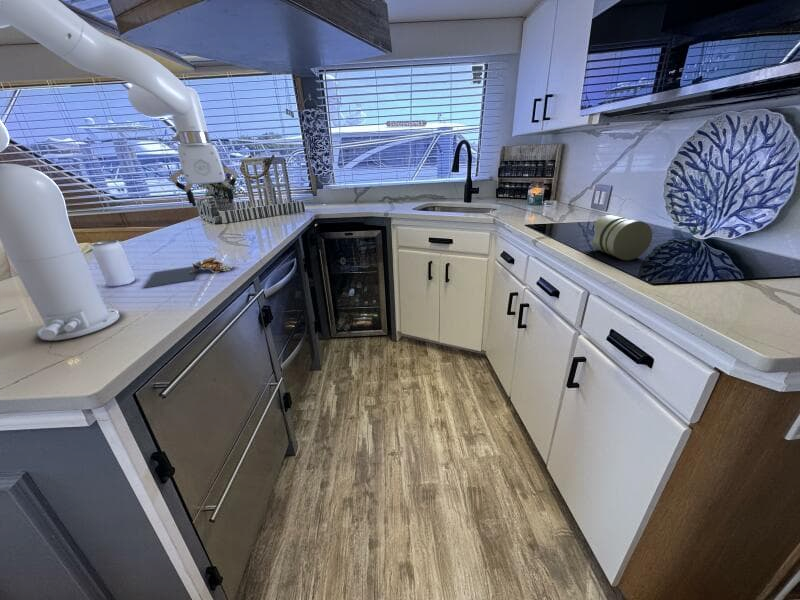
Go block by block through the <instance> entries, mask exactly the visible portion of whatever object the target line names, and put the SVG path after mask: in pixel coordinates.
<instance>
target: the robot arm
mask: <svg viewBox="0 0 800 600" xmlns="http://www.w3.org/2000/svg"><path fill="white" fill-rule="evenodd" d="M7 27H14V28H15V29H17V30H18V31H20V32H21V33H23V34H24V35H26V36H27V37H29V38H31V39H32V40H34V41H36V42H37V43H38V44H40V45H41V46H43V47H44V48H46V49H47V50H49V51H51V52H52V53H54V54H55V55H56V56H58V57H60V58H61V59H63V60H64V61H66V62H67V63H69V64H70V65H72V66H73V67H75V68H77V69H79V70H81V71H85V72H88V73H91V74H94V75H95V74H96V75H99V76H104V77H109V78H114V79H119V80H121V81H124V82H127V83H130V84H133V85H132V86H130V88H129V90H128V93H127V96H128V101H129V103H130V104H131V106H132V107H133V108H134V110H136V112H137V113H139V114H141V115H142V116H145V117H147V118H151V119H152V118H153V119H161V118H171V119H172V121H173V125H174V128H175V131H176V135H171V139H172V142H175V143H179V144H180V145H177V152H178V154H177V155H178V159H179V162H180V167H181V169H179V170H178V171H176V172H174V173H173V174H171V175H170V176H169V179H170V180H171V182H172V183H173V184H174V185H175V186H177V187H178V188H179V189H180V190H182V191H183V192H184V193H186V196H187V199H188V200H187V201H188V203H189V204H190V205H192V207H197V203H196V199H195V196H194V193H193V191H192V190H191V189H192V187H193V186H194V185H208V184H219V183H221V184H222V185H224V186H225V188H226V189H225V191H226V194H227V198H228V202H229V204H232V203H233V200H235V198H234V194H233V191H232V188H233V186H234V185H235V184H236V182H237V179H238V175H239V174H238V173H239V172H238V171H235V170H233V169H230V168H228V167H226V166H223V164H222V160H221V158H220V154H219V152H218V150H217V147H216V145H215V144H212V141H211V138H210V133H209V129H208V126H207V122H206V117H205V114H204V110H203V108H202V103H201V100H200V96H199V94H198V91H197V90H196V89H194V88H193V87H190V86H186V85H185V84H184V83H183V82H182V81H181V80H180V79H179V78H178V77H177V75H175V74H174V73H172V72H171V71H170V69H168V68H166V67H165V66H164V65H163V64H161V63H160V62H159V61H157V60H156V59H154V58H153V57H152V56H150V55H148V54H146V53H145V52H143V51H141V50H139V49H137V48H135V47H133V46H130V45H129V44H126V43H125V42H123V41H120V40H119V39H116V38H114V37H111V36H109V35H107V34H105V33H102V32H101V31H100V30H98V29H96V28H94V27H93V26H92V25H91V24H89V23H88V22H87V21H86V20H84V19H83V18H82V17H80V16H79V15H78V14H76V12H74V11H73V10H71V9H70V8H69V7H68V6H67V5H65V4H64V3H63V2H61V1H60V0H0V29H4V28H7ZM9 144H10V134H9V131H8V129H7V127H6V126H5V124H4V123H3V121H2V120H1V119H0V153H2V152H4V150H6V149H7V148H8V146H9ZM226 173H227V174H230V175H231V179H230V180H229V181H227V180H226ZM181 176H183V179H184V180H185V182H186V185H185V184H183V183H181V182H180V181H179V178H180V177H181ZM0 243H1V245H2V247H3V250H4V251H5V253H6V255H7V257H8V259H9V261H10V262H11V264H12V266H13V268H14V270H15V271H16V273H17V275H18V277H19V279H20V280H21V283H22V284H23V286H24V288H25V290H26V292H27V293H28V295H29V297H30V299H31V301H32V303H33V305H34V306H35V308H36V311H37V312H38V314H39V316H40V318H41V319H42V321H43V323H44V325H43V326H42V327H41V328H39V329H38V330H37V336H38V338H39V339H40V340H43V341H51V342H52V341H61V340H70V339H73V338H78V337H81V336H82V337H83V336H85V335H89V334H93V333H94V332H98V331H100V330H102V329H104V328H105V329H106V328H107V327H109V326H111V325H113V324H115V323H116V322H117V321H118V320H119V319H120V316H121V315H120V312H119V311H118V310H117V309H114V308H107V306H106V304H105V302H104V299H103V297H102V295H101V293H100V291H99V288H98V286H97V284H96V281H95V279H94V277H93V274H92V272H91V270H90V267H89V265H88V263H87V261H86V259H85V257H84V254H83V252H82V250H81V248H80V246H79V243H78V241H77V238H76V236H75V234H74V230H73V229H72V226H71V222H70V220H69V216H68V210H67V206H66V202H65V197H64V195H63V193H62V191H61V189H60V187H59V186H58V185H57V183H56V182H55V181H54V180H53V179H51V178H50V176H48V175H47V174H45V173H44V172H42V171H39V170H37V169H35V168H32V167H30V166H26V165H22V164H17V163H0Z"/></svg>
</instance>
